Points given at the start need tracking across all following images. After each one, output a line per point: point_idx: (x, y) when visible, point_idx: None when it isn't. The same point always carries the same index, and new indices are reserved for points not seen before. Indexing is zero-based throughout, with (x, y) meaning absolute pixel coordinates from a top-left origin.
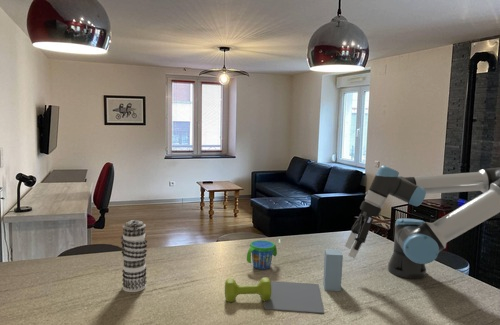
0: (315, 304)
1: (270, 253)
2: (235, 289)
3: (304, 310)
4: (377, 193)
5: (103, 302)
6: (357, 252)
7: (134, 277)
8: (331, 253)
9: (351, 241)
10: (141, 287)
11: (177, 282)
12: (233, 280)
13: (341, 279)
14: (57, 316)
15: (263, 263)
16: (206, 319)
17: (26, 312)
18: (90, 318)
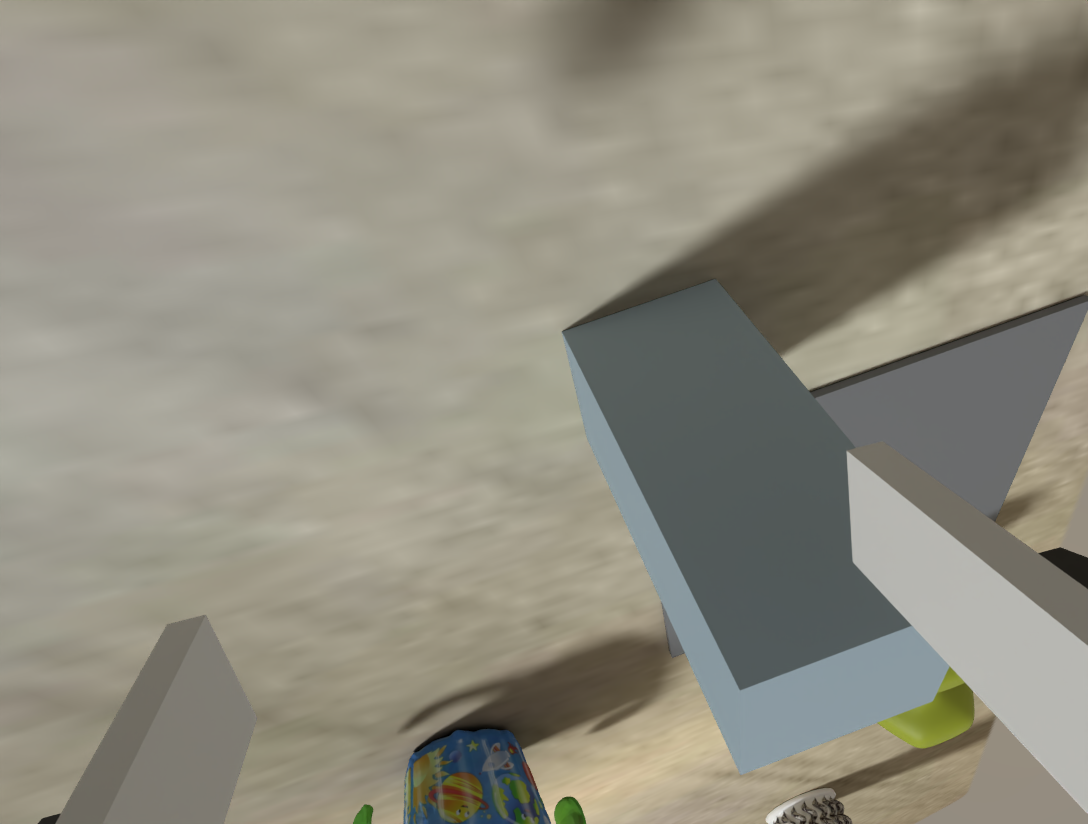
0: (974, 375)
1: None
2: (961, 685)
3: (1041, 400)
4: None
5: (896, 780)
6: (966, 509)
7: None
8: (902, 689)
9: (169, 786)
10: (818, 798)
11: (749, 784)
12: (945, 731)
13: (777, 354)
14: (959, 774)
15: (527, 771)
16: None
17: (937, 802)
18: (976, 747)
